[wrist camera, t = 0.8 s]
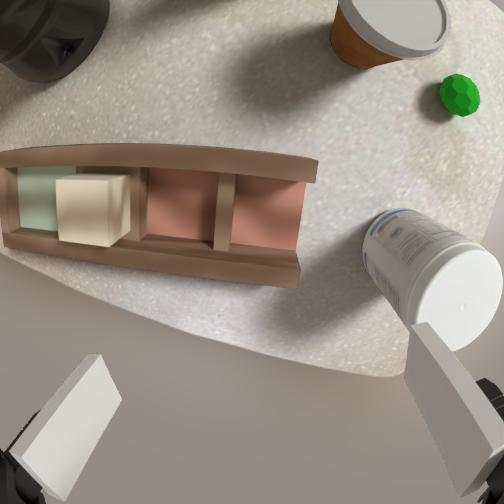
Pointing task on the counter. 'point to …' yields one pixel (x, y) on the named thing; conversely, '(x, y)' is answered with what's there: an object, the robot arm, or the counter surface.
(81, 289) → the counter surface
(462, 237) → the supplement tub
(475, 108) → the polyhedron
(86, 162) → the box
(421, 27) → the disposable coffee cup
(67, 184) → the birch block
